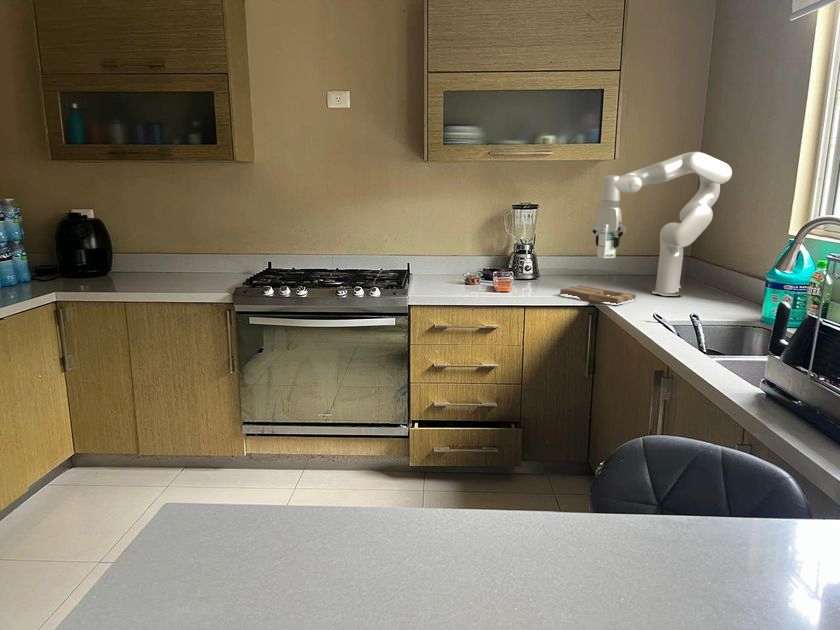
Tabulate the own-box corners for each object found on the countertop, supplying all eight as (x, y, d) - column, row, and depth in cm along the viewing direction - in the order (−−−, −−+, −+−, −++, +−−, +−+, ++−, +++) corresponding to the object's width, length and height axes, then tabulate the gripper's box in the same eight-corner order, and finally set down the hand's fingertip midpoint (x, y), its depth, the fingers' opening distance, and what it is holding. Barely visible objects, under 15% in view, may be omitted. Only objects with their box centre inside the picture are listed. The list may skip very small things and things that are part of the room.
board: (579, 292, 273) (580, 285, 272) (635, 301, 255) (636, 294, 254) (560, 296, 261) (560, 289, 261) (616, 306, 244) (617, 299, 243)
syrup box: (604, 258, 264) (606, 224, 260) (596, 256, 269) (599, 223, 266) (615, 258, 265) (618, 224, 262) (608, 256, 271) (610, 223, 267)
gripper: (587, 204, 265) (584, 245, 269) (625, 206, 253) (621, 248, 257) (596, 203, 271) (593, 243, 275) (633, 205, 259) (630, 247, 263)
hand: (607, 245), depth 266 cm, fingers closed on syrup box, 7 cm apart
